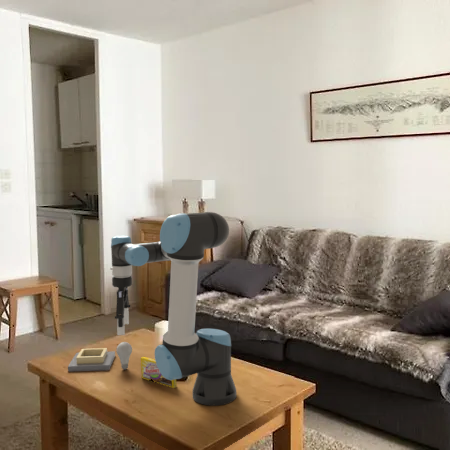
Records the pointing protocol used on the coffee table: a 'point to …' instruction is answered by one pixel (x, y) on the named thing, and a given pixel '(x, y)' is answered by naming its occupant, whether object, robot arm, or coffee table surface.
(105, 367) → the lamp base
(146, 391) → the coffee table surface
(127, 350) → the lightbulb
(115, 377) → the coffee table surface
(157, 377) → the candy box
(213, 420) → the coffee table surface
